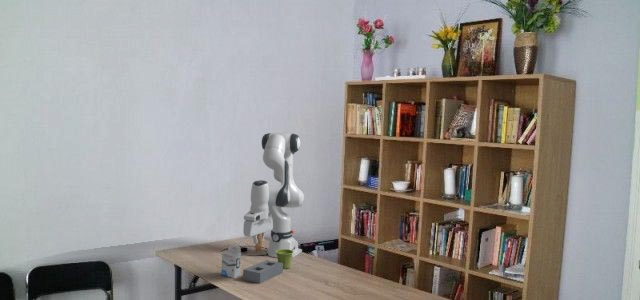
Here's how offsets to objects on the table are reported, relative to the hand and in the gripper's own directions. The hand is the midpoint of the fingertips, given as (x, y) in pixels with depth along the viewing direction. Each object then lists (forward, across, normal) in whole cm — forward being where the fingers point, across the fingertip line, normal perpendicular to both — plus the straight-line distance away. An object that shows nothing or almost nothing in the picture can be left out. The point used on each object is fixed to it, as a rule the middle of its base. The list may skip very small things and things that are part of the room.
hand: (258, 242), depth 230 cm
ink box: (+18, +3, -14) cm, 23 cm away
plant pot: (+18, -23, +1) cm, 29 cm away
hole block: (+18, -5, 0) cm, 19 cm away
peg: (+4, 0, 0) cm, 4 cm away
